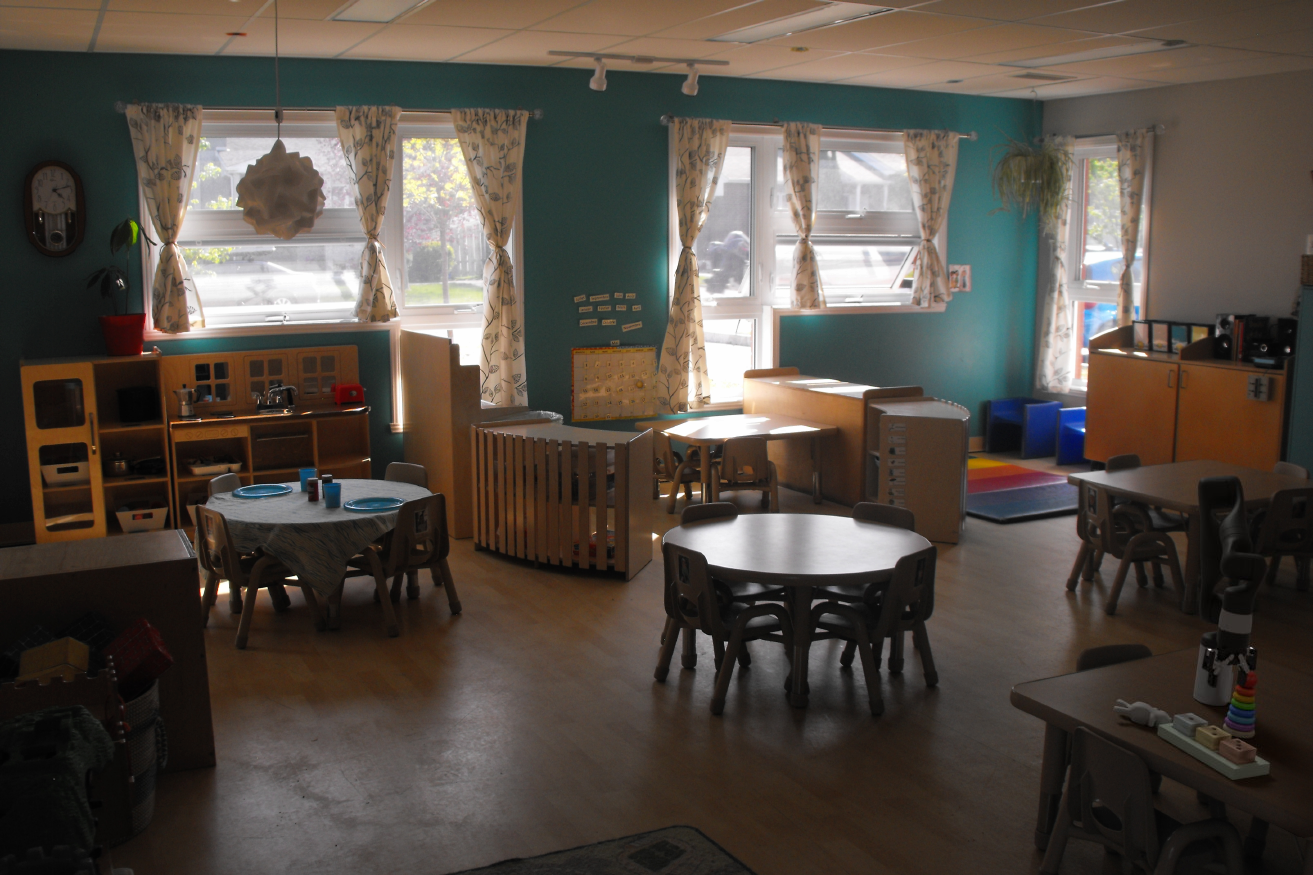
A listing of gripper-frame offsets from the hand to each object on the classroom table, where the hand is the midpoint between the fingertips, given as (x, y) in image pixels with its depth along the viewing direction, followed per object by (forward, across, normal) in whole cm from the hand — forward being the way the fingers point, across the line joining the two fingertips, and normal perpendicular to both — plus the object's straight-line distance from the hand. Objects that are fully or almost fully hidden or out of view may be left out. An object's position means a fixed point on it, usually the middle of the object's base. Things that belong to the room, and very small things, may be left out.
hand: (1226, 685), depth 281 cm
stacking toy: (+22, -19, -15) cm, 32 cm away
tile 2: (+19, -2, -4) cm, 20 cm away
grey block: (+19, -1, -12) cm, 23 cm away
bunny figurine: (+22, +4, -25) cm, 33 cm away
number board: (+22, -2, -4) cm, 22 cm away
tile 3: (+19, -3, +4) cm, 20 cm away
